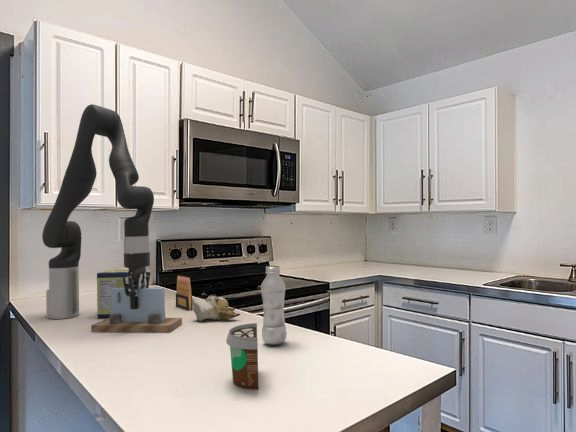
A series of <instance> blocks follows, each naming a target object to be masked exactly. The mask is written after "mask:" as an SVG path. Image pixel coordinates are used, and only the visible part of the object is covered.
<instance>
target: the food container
mask: <svg viewBox="0 0 576 432" xmlns="http://www.w3.org/2000/svg"><path fill="white" fill-rule="evenodd" d="M258 342H259V341H258V324H257V322H252V323H244V324H238V325H236V326H234V327H231V328H230V329H229V330H228V333H227V336H226V344H227V346H229V349H230V350H229V352H230V362H231V373H232V383H233V385H235V386H236V387H238V388H239V389H240V388H241V389H244V390H259V361H258V360H259V358H258V356H259V354H258V353H259V351H258V347H259V346H258V345H259V343H258Z"/></svg>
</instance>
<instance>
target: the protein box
mask: <svg viewBox="0 0 576 432" xmlns="http://www.w3.org/2000/svg"><path fill="white" fill-rule="evenodd" d="M128 270H129V269H128V268H126V267H123V268H120V267H119V268H118V267H117V268H112V269H108V270H103V271H100V272H97V273H96V294H97V295H96V297H97V298H96V302H97V303H96V305H97V306H96V307H97V308H96V309H97V311H96V312H97V319H101V320H105V319H107V318H110V315H111V314H112V310H111V289H114V288H124V284H123V277H127V276H128Z"/></svg>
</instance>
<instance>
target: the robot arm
mask: <svg viewBox="0 0 576 432" xmlns="http://www.w3.org/2000/svg"><path fill="white" fill-rule="evenodd" d="M123 126H124V125H123V123H122V119H121V117H120V114H119V113H118V112H116V111H115V110H112V109H109V108H106V107H103V106H101V105H97V104H93V103H92V104H88V105H87V106H86V107H85V108H84V110H83V112H82V114H81V117H80V121H79V126H78V129H77V134H76V139H75V143H74V146H73V149H72V153H71V156H70V159H69V162H68V164H67V167H66V170H65V172H64V175H63V179H62V182H61V186H60V189H59V191H58V195H57V197H56V200H55V202H54V204H53V207H52V209H51V211H50V213H49V215H48V218H47V220H46V223H45V224H44V226H43V229H42V234H41V235H42V237H41V238H42V242H43V245H44V246H45V247H47V248H48V249H59V248H60V249H61V250H60V252H59V253H58V254H57V255H56V256H54V257H52V258H50V259H49V261H48V289H47V290H46V292H45V295H46V301H45V302H46V306H45V308H46V311H45V312H46V318H47V319H52V320H59V319H60V320H63V319H64V320H65V319H70V318H74V317H78V316H80V273H79V272H80V269H79V267H80V266H79V265H80V264H79V263H80V259H81V256H82V253H81V252H82V229H81V227H80V225H79V224H78V223H77V222H76V221H73V220H70V221H69V217H70V216H71V215H72V213H73V211H74V210H75V209H76V208H77V207H78V206H79V205H80V204H81V203H83V202H84V201H85V199H87V197H88V196H89V195H90V194H91V192H92V189H93V187H94V184H95V182H96V181H95V180H97V179H96V178H97V166H96V163H95V160H94V156H93V150H92V149H93V148H92V147H93V142H94V138H95V136H96V135H98V136H102V137H106V138H107V139H108V141H109V142H110V144H111V151H110V154H109V156H108V164H109V169H110V170H111V173H112V175H113V178H114V181H115V188H116V199H117V203H118V204H119V205H120V207H122V208H123V209H127V210H136V212H135V214H134V215H133V216H129V217H127V218H125V219H124V223H123V227H124V228H123V230H124V234H123V235H124V238H123V266H124V267H123V268H128V269H129V270H128V276H127V277H123V284H124V289H125V294H126V296H129V297H130V308H131V309H138V291H139V289H140V288H150V280H151V279H150V278H151V272H150V271H147V269H146V268H147V267H150V265H151V252H150V251H151V245H150V244H151V243H150V237H149V235H150V232H149V230H150V228H149V227H150V226H149V222H150V218H151V215H152V211H153V207H154V204H155V196H154V192H153V191H152V189H151V188H150V187H148V186H140V185H135V184H136V183H138V181H139V180H140V179H139V178H140V176H139V173H138V170H137V168H136V166H135V163H134V162H133V159H132V157H131V153H130V151H129V147H128V143H127V139H126V134H125V130H124V127H123ZM128 289H129V290H128Z"/></svg>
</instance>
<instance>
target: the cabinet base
mask: <svg viewBox="0 0 576 432" xmlns="http://www.w3.org/2000/svg"><path fill="white" fill-rule="evenodd" d="M181 324H182V325H183V318H182V317H165V321H164V322H159V315H157V314H150V315H148V322H121V314H111V315H110V318H104V319H101V320H100V321H97V322H96V323H94V324H93V323H92V324H91V326H90V327H91V330H90V331H91V332H90V333H138V334H139V333H148V334H150V333H152V334H153V333H154V334H157V333H160V334H161V333H163V334H164V333H165V332H166V333H167V334H168V332H169V334H170V333H172V332H173V331H175V330H176V329H177V328H178V327H180V326H182V325H181ZM166 333H165V334H166Z"/></svg>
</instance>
